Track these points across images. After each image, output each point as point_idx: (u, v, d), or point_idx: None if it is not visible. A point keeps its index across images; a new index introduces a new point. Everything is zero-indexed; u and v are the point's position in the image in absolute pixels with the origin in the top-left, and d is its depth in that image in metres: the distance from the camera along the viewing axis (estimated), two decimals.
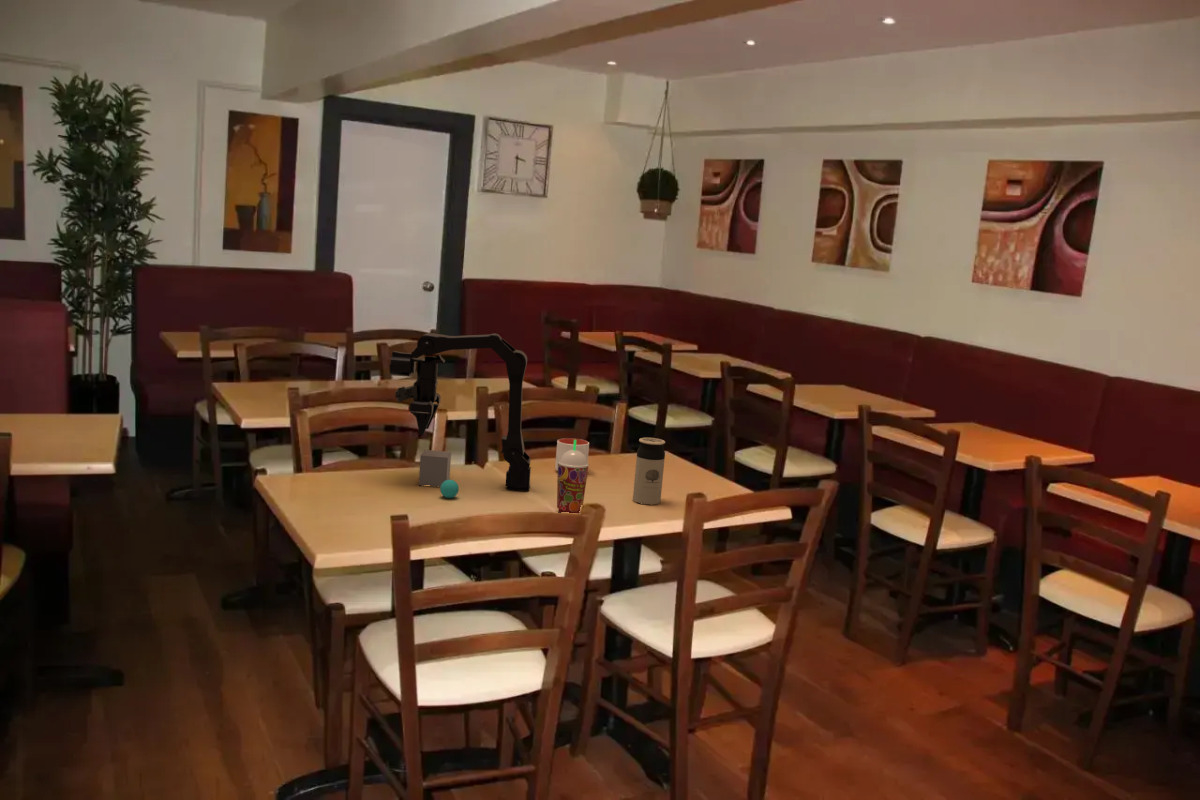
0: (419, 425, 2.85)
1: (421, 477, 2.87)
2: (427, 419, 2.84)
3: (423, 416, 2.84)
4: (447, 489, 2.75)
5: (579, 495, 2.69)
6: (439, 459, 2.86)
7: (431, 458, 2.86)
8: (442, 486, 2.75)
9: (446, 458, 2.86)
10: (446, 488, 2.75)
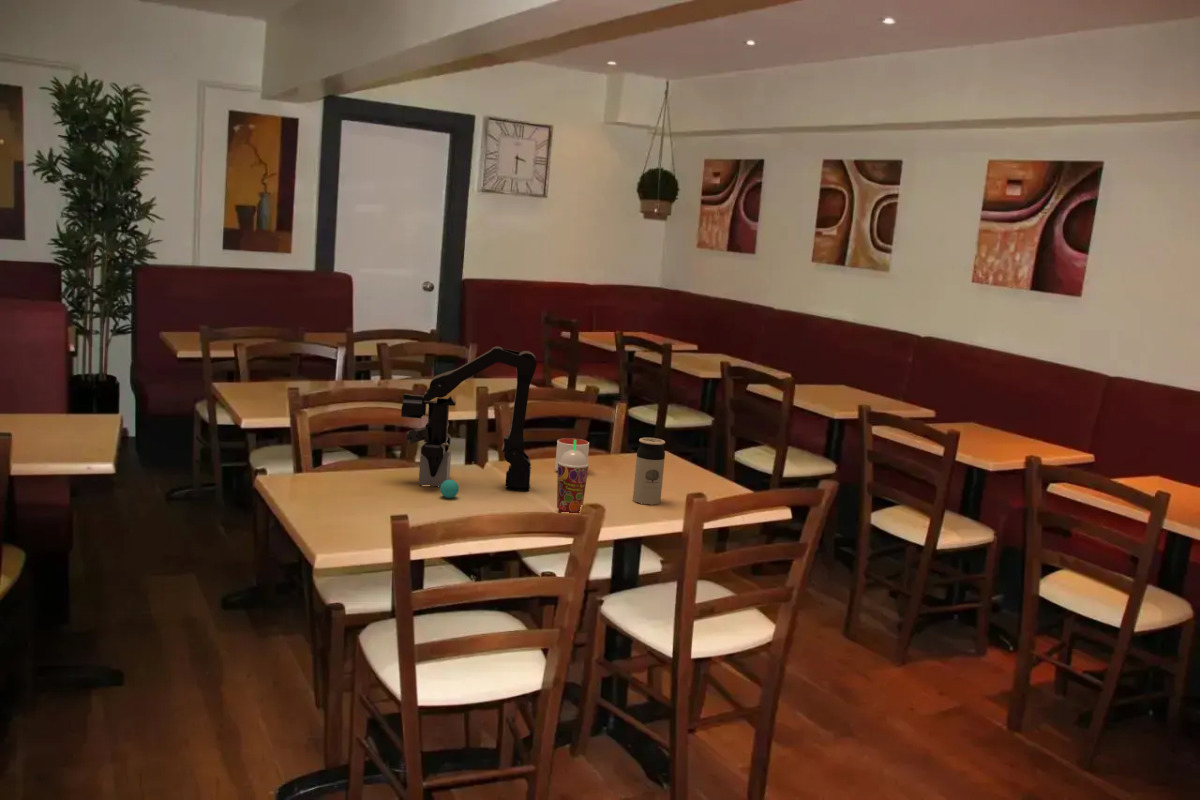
0: (431, 467, 2.85)
1: (421, 477, 2.87)
2: (439, 461, 2.84)
3: (435, 458, 2.85)
4: (447, 489, 2.75)
5: (579, 495, 2.69)
6: None
7: None
8: (442, 486, 2.75)
9: (446, 458, 2.86)
10: (446, 488, 2.75)
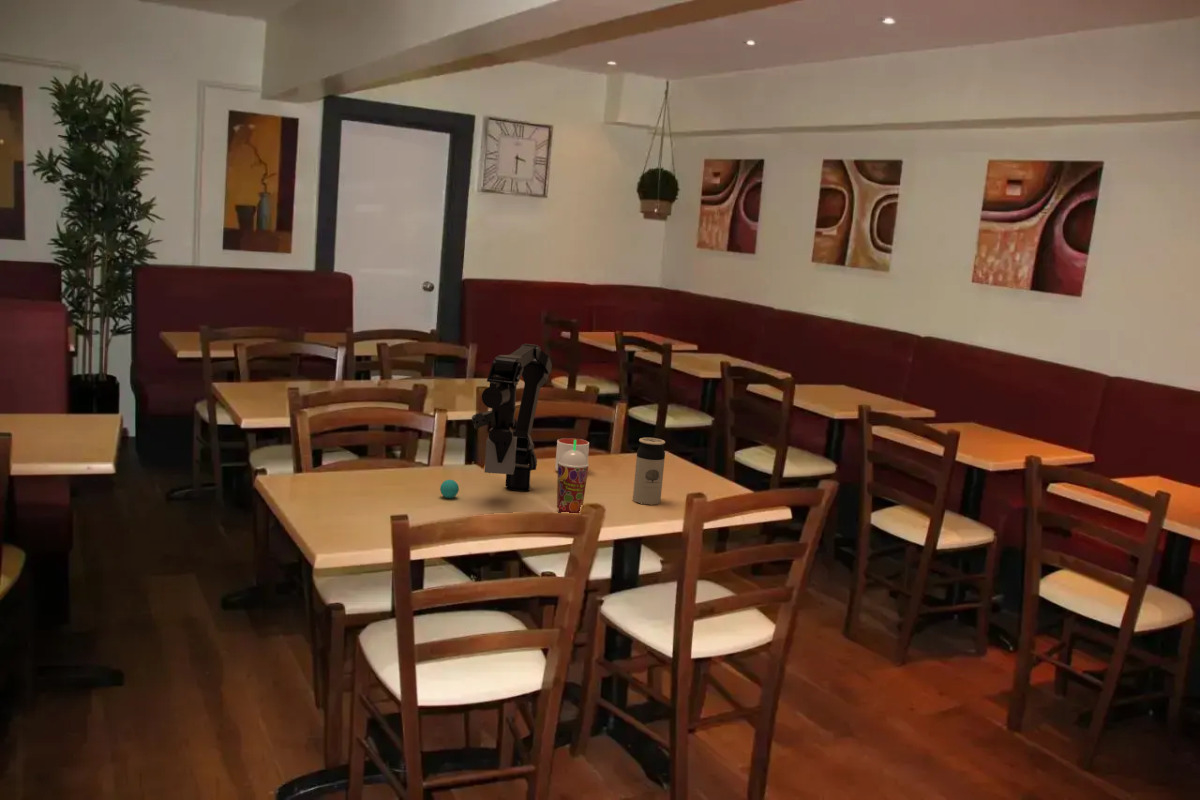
0: (498, 453, 2.71)
1: (487, 463, 2.72)
2: (506, 446, 2.70)
3: (502, 443, 2.70)
4: (447, 489, 2.75)
5: (579, 495, 2.69)
6: None
7: None
8: (442, 486, 2.75)
9: (513, 443, 2.72)
10: (446, 488, 2.75)
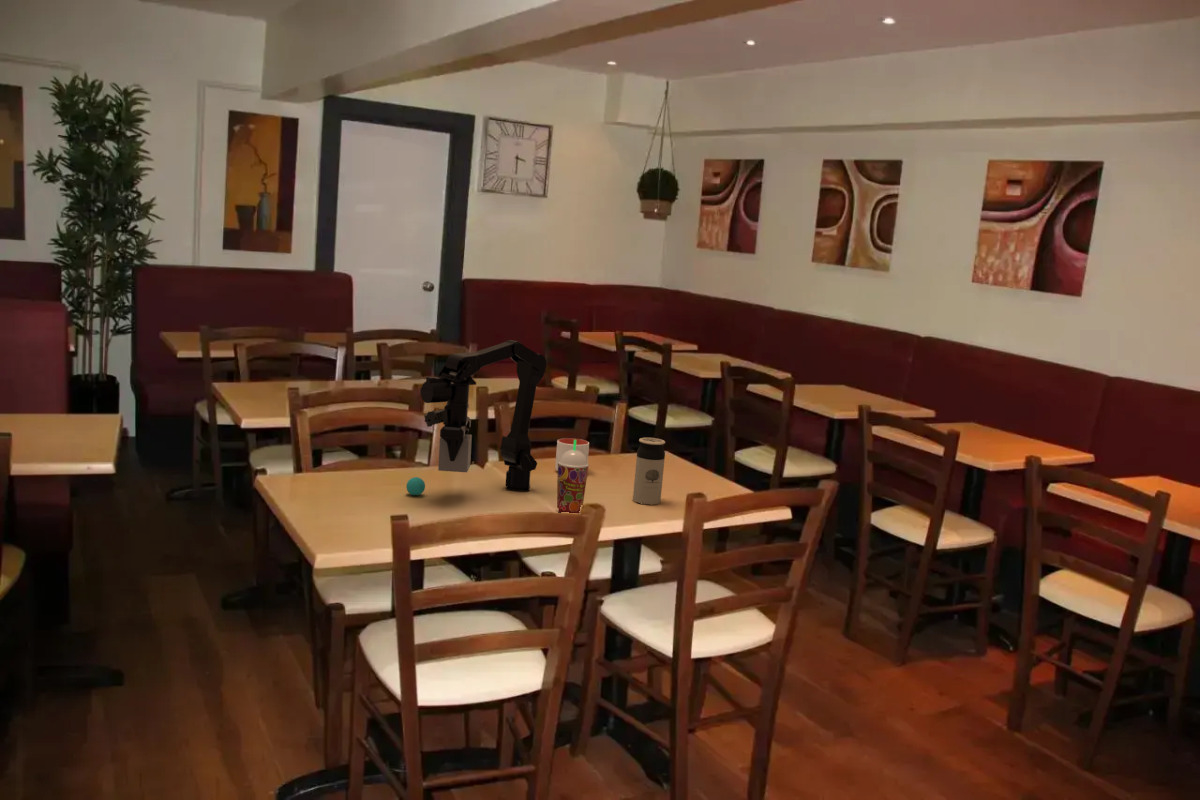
0: (450, 451, 2.70)
1: (441, 461, 2.72)
2: (458, 445, 2.69)
3: (454, 441, 2.70)
4: (416, 489, 2.74)
5: (579, 495, 2.69)
6: None
7: None
8: (422, 487, 2.75)
9: (467, 441, 2.71)
10: (417, 489, 2.75)
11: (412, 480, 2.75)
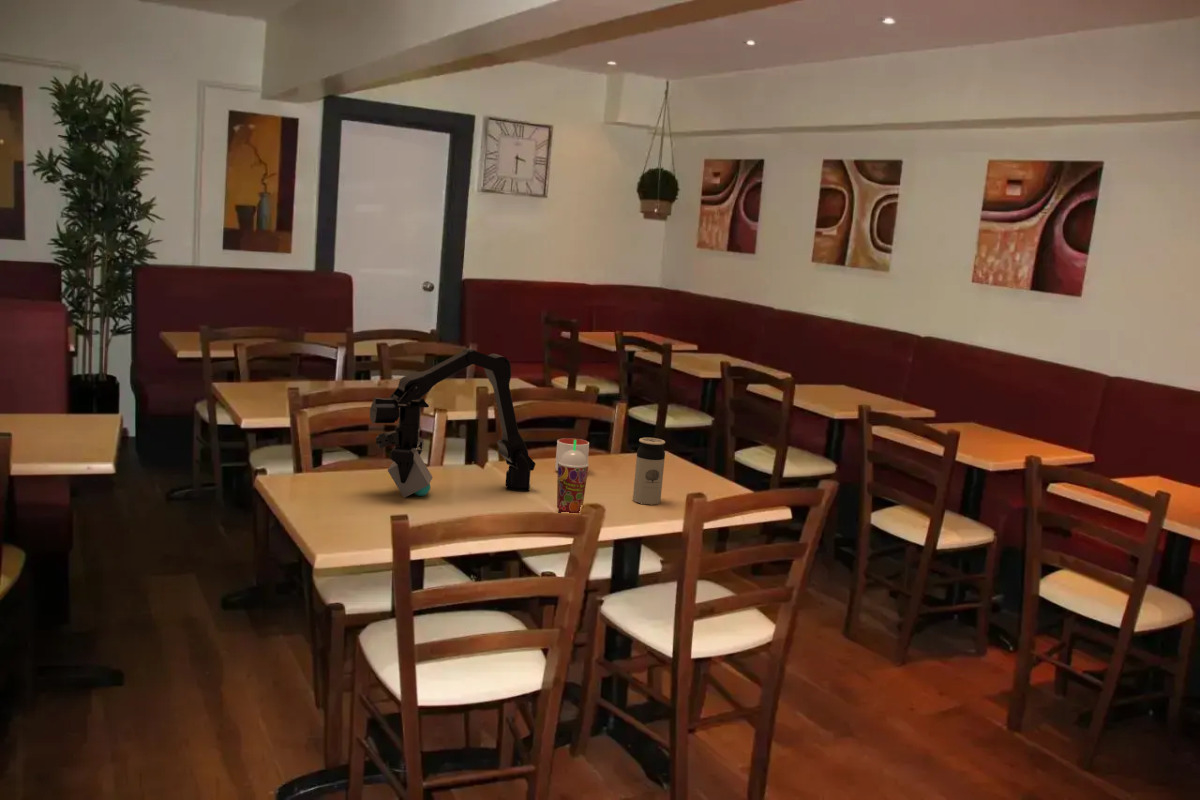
0: (401, 473, 2.71)
1: (401, 489, 2.73)
2: (409, 467, 2.70)
3: (405, 463, 2.70)
4: (420, 490, 2.74)
5: (579, 495, 2.69)
6: None
7: None
8: (426, 492, 2.76)
9: None
10: (421, 491, 2.75)
11: None
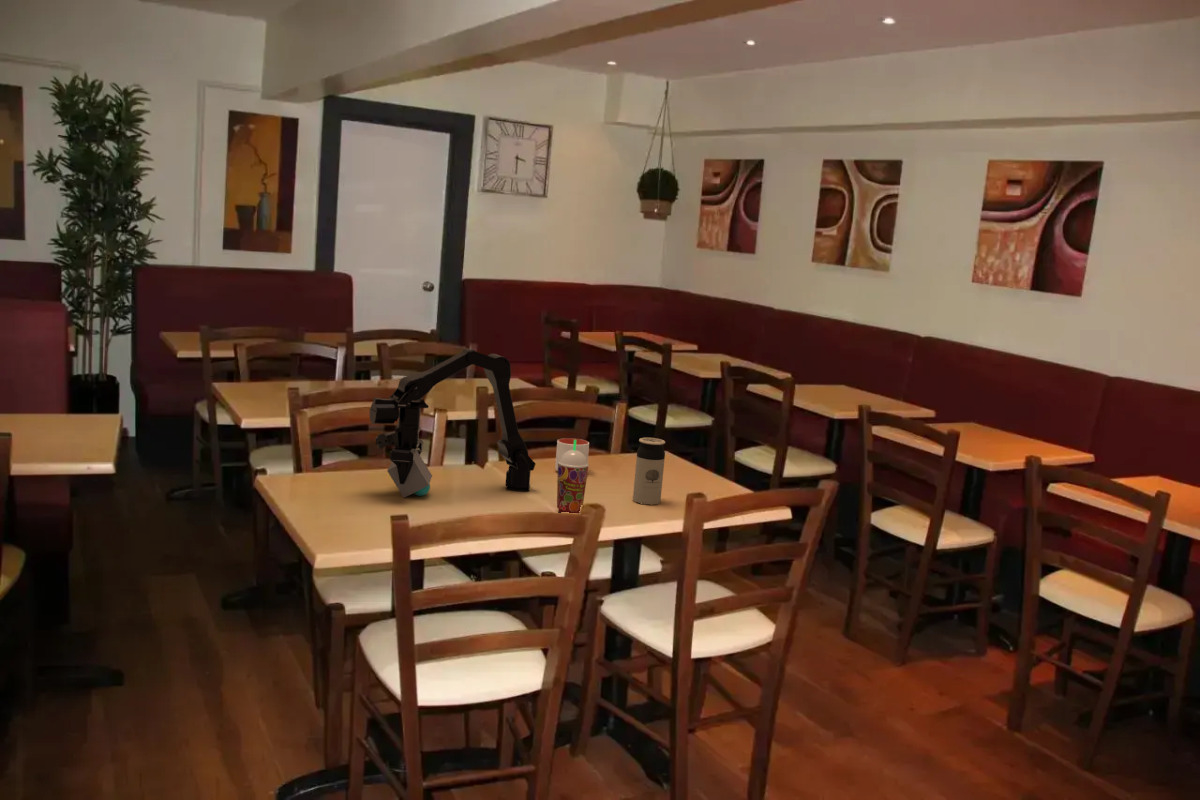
0: (400, 474, 2.70)
1: (401, 489, 2.73)
2: (408, 468, 2.69)
3: (404, 464, 2.70)
4: (420, 490, 2.75)
5: (579, 495, 2.69)
6: None
7: None
8: (426, 491, 2.76)
9: None
10: (421, 491, 2.75)
11: None
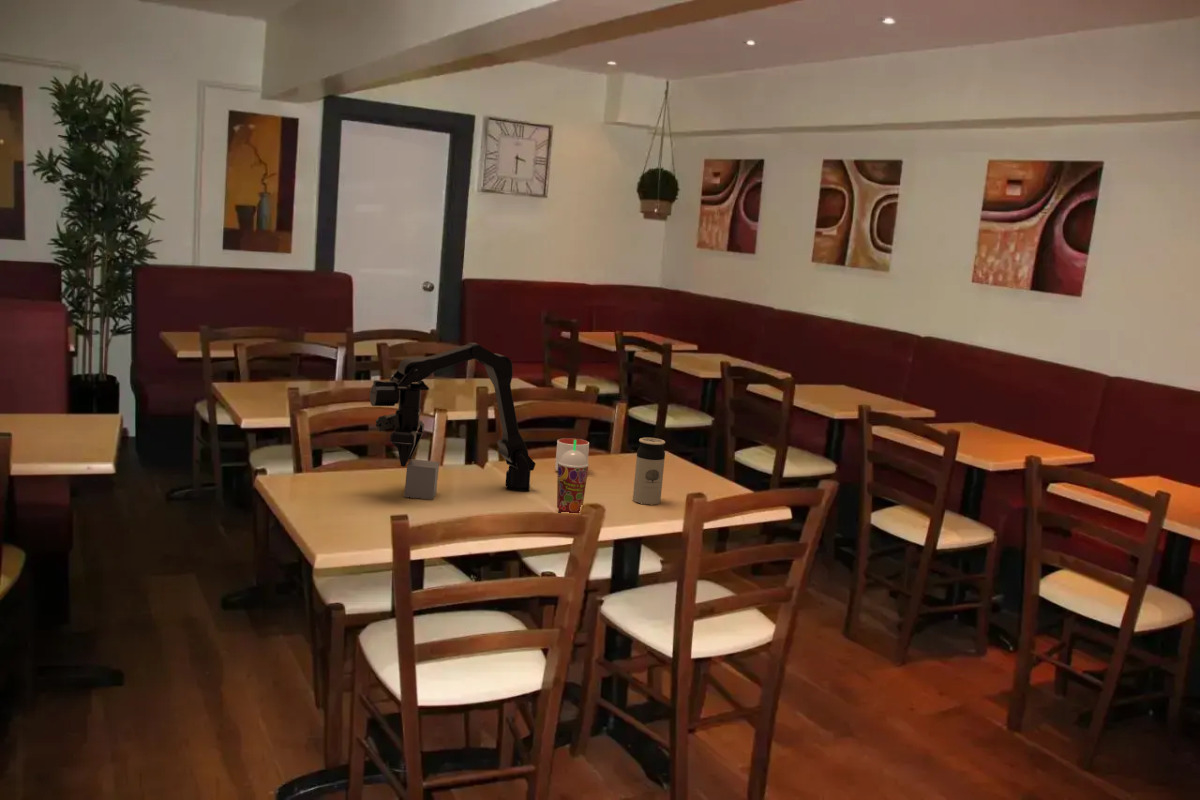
0: (401, 456, 2.70)
1: (407, 488, 2.73)
2: (409, 450, 2.69)
3: (405, 447, 2.69)
4: None
5: (579, 495, 2.69)
6: (426, 470, 2.73)
7: (418, 468, 2.72)
8: None
9: (434, 469, 2.73)
10: None
11: None
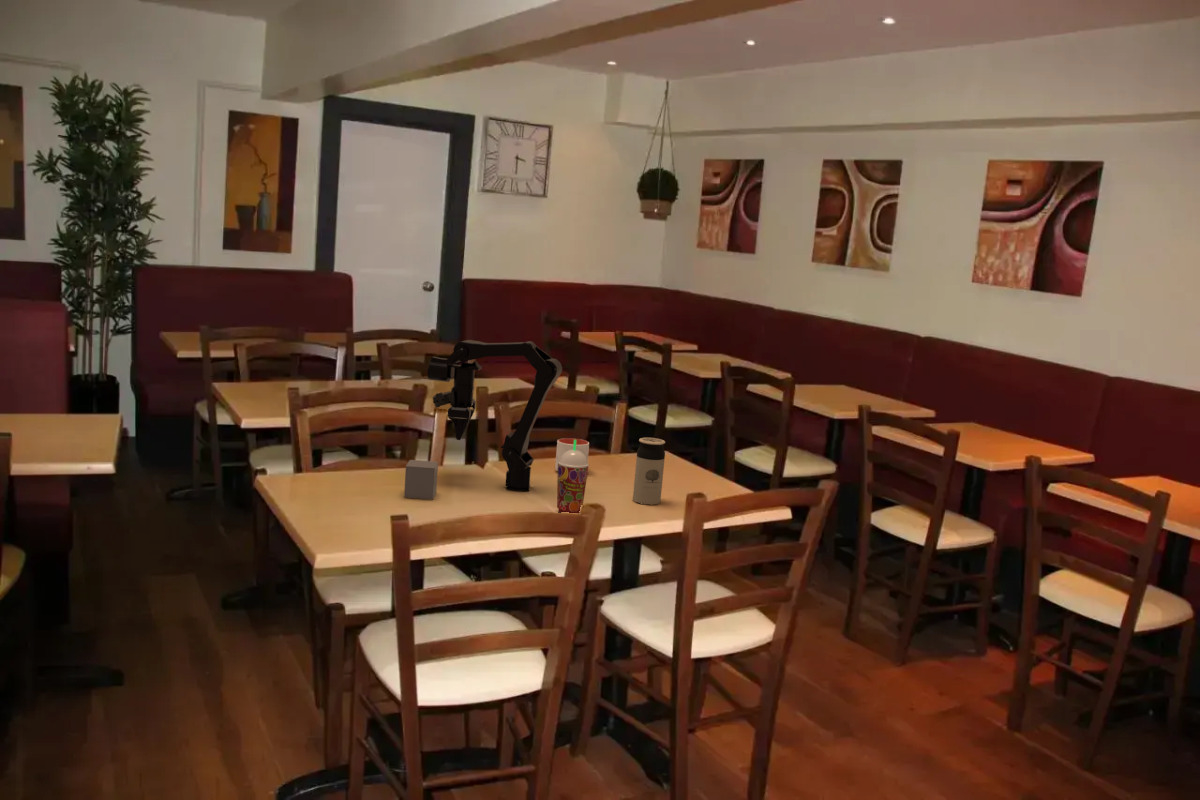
0: (456, 430, 2.89)
1: (407, 489, 2.73)
2: (464, 424, 2.88)
3: (460, 421, 2.89)
4: None
5: (579, 495, 2.69)
6: (425, 470, 2.73)
7: (417, 469, 2.72)
8: None
9: (433, 469, 2.73)
10: None
11: None
